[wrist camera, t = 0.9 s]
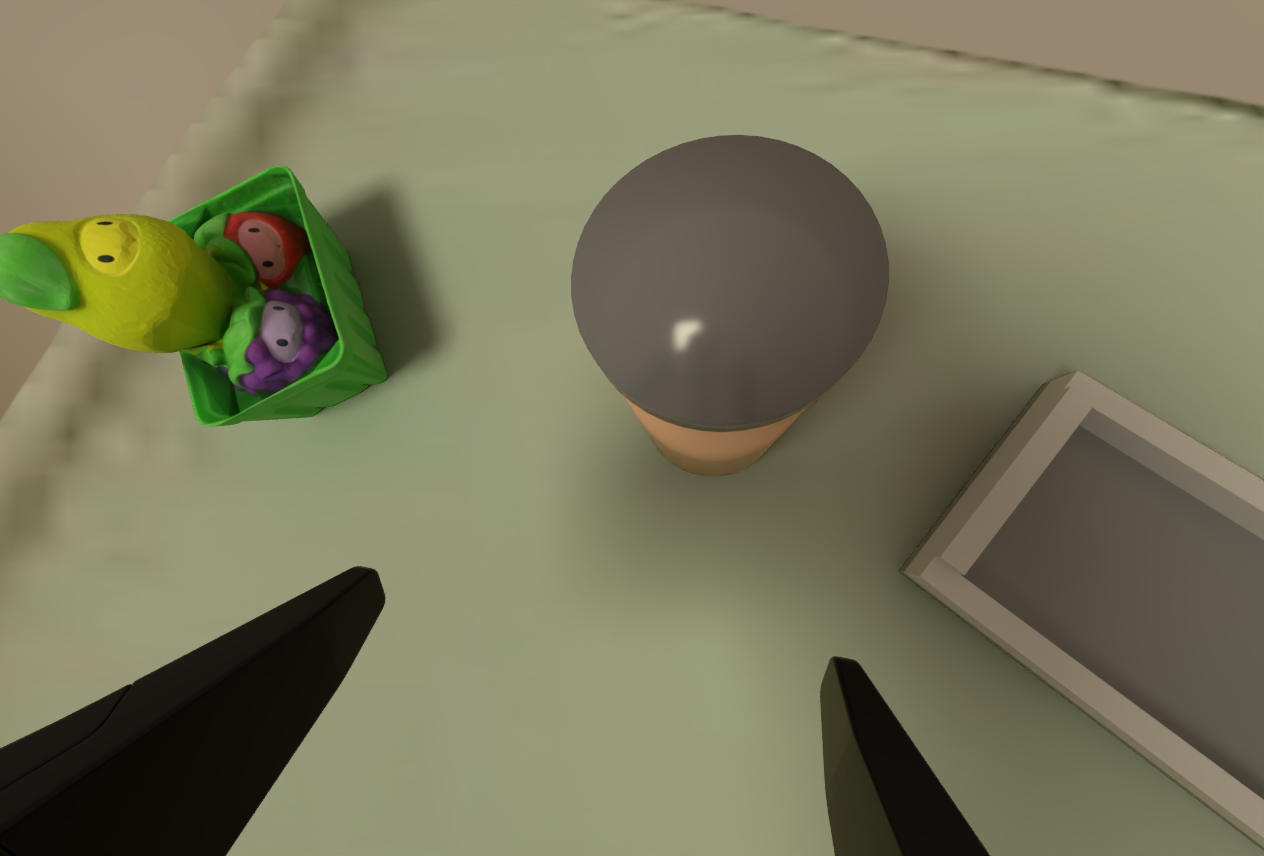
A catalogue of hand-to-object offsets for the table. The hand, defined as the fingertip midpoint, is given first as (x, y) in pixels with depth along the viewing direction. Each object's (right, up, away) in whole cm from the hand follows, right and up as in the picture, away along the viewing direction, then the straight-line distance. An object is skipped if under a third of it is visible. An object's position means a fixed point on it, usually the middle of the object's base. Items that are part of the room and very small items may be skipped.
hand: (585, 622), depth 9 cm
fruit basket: (-17, +9, +18) cm, 26 cm away
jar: (+5, +5, +14) cm, 15 cm away
